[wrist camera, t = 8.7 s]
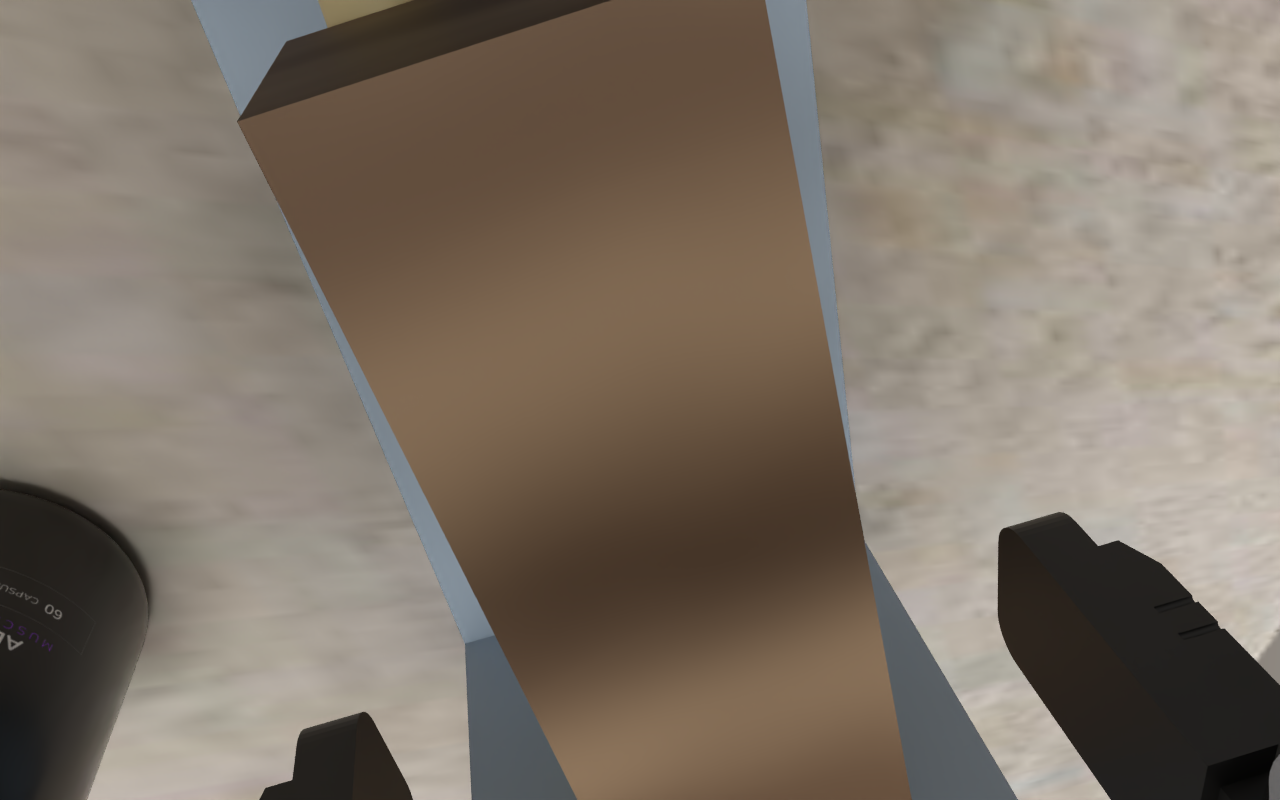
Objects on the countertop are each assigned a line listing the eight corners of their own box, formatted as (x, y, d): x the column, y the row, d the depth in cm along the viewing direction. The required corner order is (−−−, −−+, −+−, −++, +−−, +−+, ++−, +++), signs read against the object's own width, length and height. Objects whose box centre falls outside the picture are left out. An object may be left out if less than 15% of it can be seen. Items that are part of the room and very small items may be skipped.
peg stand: (134, -166, 16) (-338, -123, 6) (760, -314, 17) (1245, -490, 7) (474, 647, 27) (501, 1143, 17) (851, 541, 28) (1092, 960, 18)
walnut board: (286, 41, 13) (237, 120, 10) (673, -84, 13) (756, -47, 10) (597, 730, 21) (629, 903, 18) (836, 649, 21) (912, 806, 18)
